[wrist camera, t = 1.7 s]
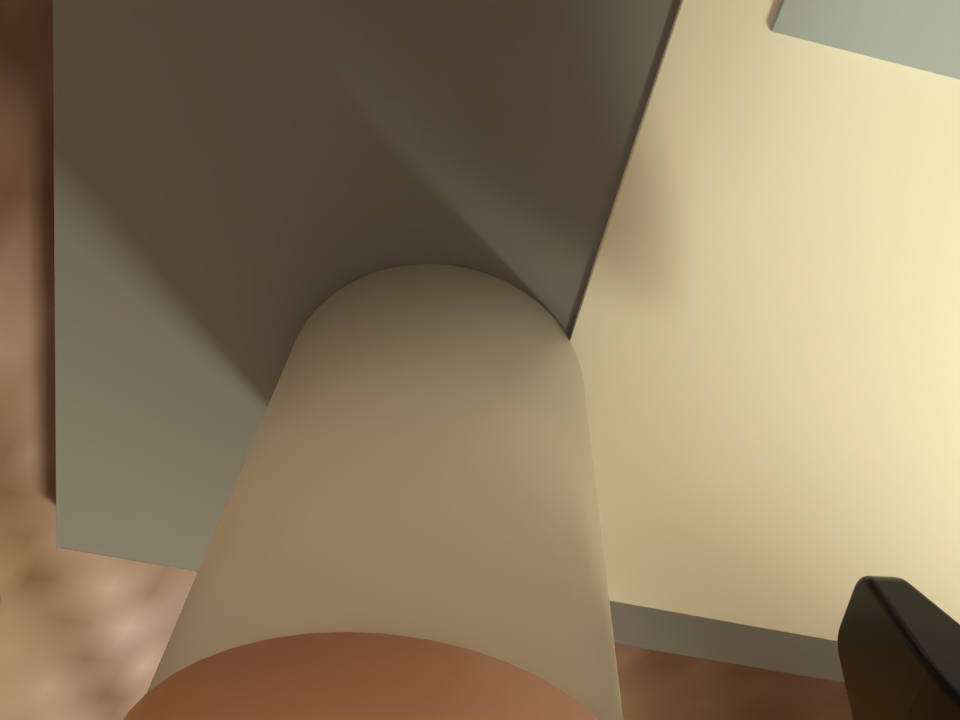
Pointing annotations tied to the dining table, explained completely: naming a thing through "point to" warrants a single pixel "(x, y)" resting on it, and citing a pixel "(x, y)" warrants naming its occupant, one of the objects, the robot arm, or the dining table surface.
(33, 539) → the dining table surface
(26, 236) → the dining table surface
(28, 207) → the dining table surface
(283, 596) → the marker
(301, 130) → the colouring board
